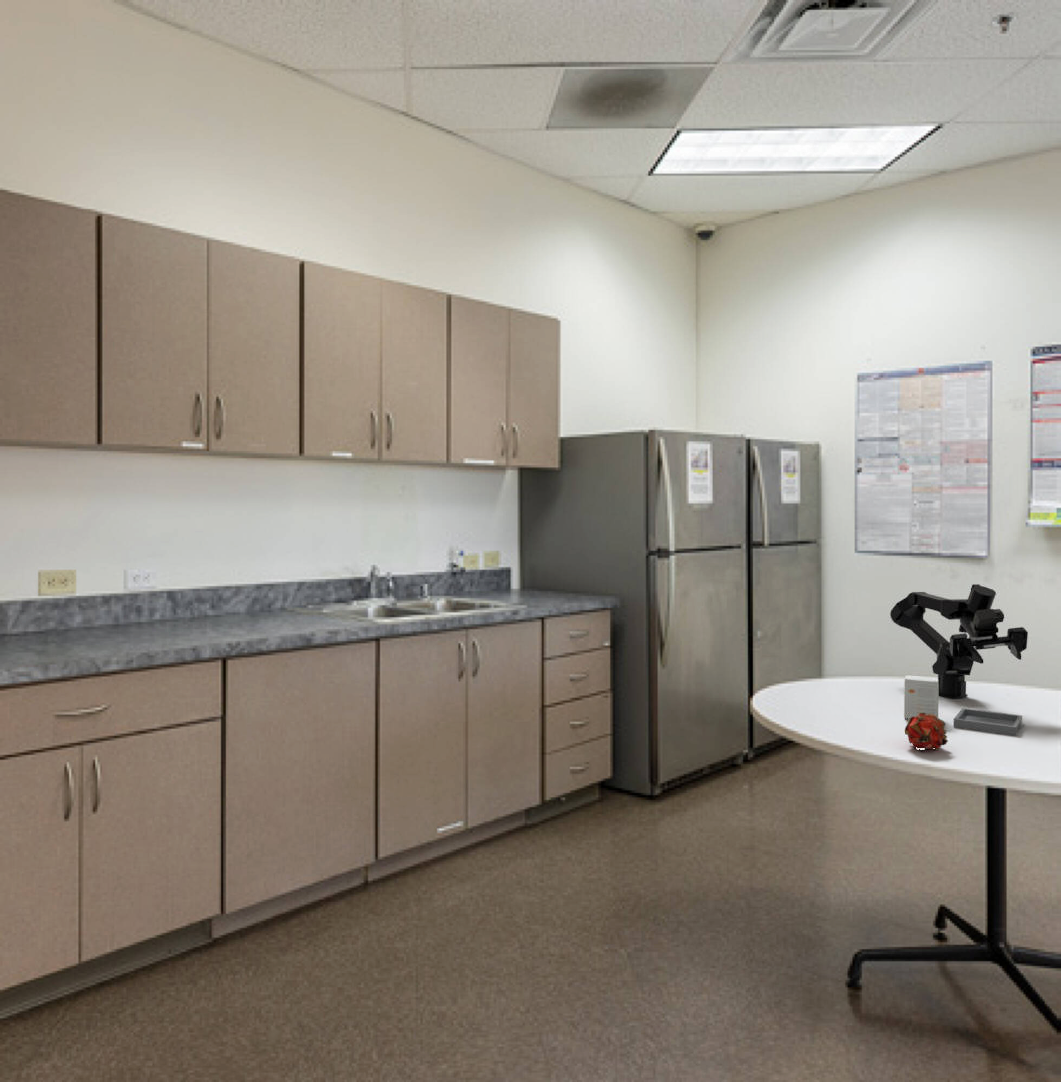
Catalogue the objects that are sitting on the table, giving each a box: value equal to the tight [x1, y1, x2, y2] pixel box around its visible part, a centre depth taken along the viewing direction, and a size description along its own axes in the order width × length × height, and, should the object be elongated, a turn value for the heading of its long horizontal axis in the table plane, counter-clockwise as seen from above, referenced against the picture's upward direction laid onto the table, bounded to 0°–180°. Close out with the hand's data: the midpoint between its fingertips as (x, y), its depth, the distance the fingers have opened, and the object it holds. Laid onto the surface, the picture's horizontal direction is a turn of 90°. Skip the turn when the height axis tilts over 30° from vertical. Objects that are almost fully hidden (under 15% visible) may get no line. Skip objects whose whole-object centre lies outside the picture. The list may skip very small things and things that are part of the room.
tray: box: [953, 707, 1023, 736], centre depth 213 cm, size 14×14×2 cm
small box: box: [903, 675, 940, 720], centre depth 219 cm, size 8×6×10 cm
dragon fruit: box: [904, 713, 949, 750], centre depth 193 cm, size 8×8×12 cm
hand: (1001, 660), depth 219 cm, fingers open, 9 cm apart
